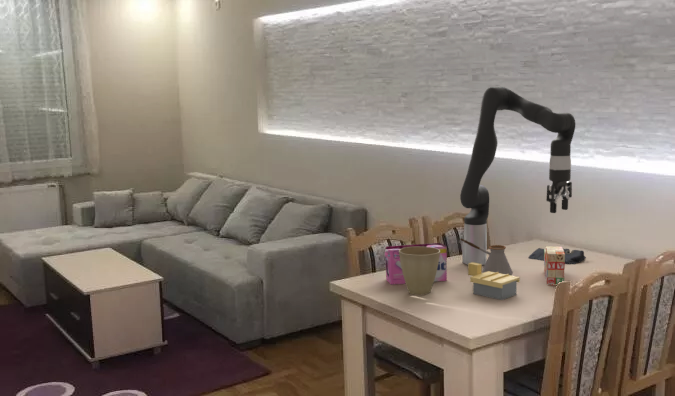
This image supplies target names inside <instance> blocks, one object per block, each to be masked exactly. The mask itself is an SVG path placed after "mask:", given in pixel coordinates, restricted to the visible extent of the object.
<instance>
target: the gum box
mask: <svg viewBox="0 0 675 396" xmlns="http://www.w3.org/2000/svg"><path fill="white" fill-rule="evenodd" d="M417 246H420V247H432V248H437V249H439V250H440V257H439V263H438V268H437V272H436V276H435V280H434V282H443V281H444V282H445V281H448V280H447V279H448V277H447V276H448V273H447V271H448V269H447V268H448V266H447V259H448V257H447V254H448V253H447V252H448V251H447V245H445V244H443V243H441V242H433V243H432V242H431V243H418V244H404V245H389V246H388V245H387V246H385V249H384V258H385V276H386V277H385V280H386V281H387V282H388V283H389V284H390V285H391V286H392V285H403V284H405V283H406V282H405V279H404V276H403V272H402V267H401V262H400V256H399V250H400V249H402V248H405V247H417ZM405 285H406V284H405Z"/></svg>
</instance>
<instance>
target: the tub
mask: <svg viewBox="0 0 675 396" xmlns="http://www.w3.org/2000/svg"><path fill="white" fill-rule="evenodd" d="M517 283H518V282H517V280H516V281H513V282H511V283H508V284H505V285H503V288H497V287H492V286H488V285H483V284H478V283H473V282H472V284H473V286H472V287H473V288H472V289H473V290H472V293H473V295H477V296H483V297H487V298H491V299H495V300H501V301H503V300H506V299H508V298H510V297H511V298H512V297H513V296H516V295H517V288H518V287H517Z"/></svg>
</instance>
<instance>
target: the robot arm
mask: <svg viewBox="0 0 675 396" xmlns="http://www.w3.org/2000/svg"><path fill="white" fill-rule="evenodd" d="M485 89H486V90H484V92H483V94H482V99H481V102H480V103H481V104H480V109H479V110H480V111H479V112H480V114H479V119H478V124H477V129H476V134H475V139H474V143H473V147H472V151H471V157H470V161H469V165H468V170H467V171H466V176H465V179H464V180H463V181H464V182H463V184H462V187H461V190H460V194H459V195H460V196H459V197H460V198H459V199H460V203H461V206H462V207H464V208H465V209H470V211H469V212H468V213H467V214H466V215H465V216H464V217H463V218H464V219H463V223H464V230H463V232H464V233H463V234H464V237H463V239H464V240H467V241H468V242H471V243H473V244H475V245H476V246H478V247H480V248H481V249H483V250H486V251H488V250H487V249H488V248H487V242H488V241H487V233H488V231H487V226H488V224H487V220H488V218H489V215H490V211H489V210H490V193H489V190H488V188H487V187H486V186H485V185H483V184H481V181H482V179H483V177H484V175H485V173H486V172H487V171H488V169H489V168H490V167H491V165H492V163H493V162H494V159H495V157H496V153H497V148H498V137H497V134H496V129H495V120H496V115H497V112H498V111H512V112H515V113H518V114H519V115H521V116H522V117H523V118H524V119H526V120H528V121H529V122H531V123H533V124H537V125H539V126H541V127H542V128H544V129H545V130H547V131H548V132H551V133H555V134H557V135H556V138H555V139H553V140H551V142H550V152H549V153H550V154H549V155H550V156H549V168H548V172H549V173H548V180H549V181H551V182H552V183H551V184H548V185H547V186H546V199H545V200H546V202H549V213H551V214H556V213H557V207H558V205H557V203H558V202H557V201H558V199H559V198H561V210H565V211H566V210H567V211H568V209H569V200H570V198H572V195H573V194H572V193H573V188H572V187H573V183H572V181H571V176H572V175H571V173H572V172H571V171H572V170H571V169H572V158H571V144H572V141H573V139H574V136H575V135H574V133H575V130H576V120H575V119H576V118H575V117H574V115H573V114H571V113H570V112H561V113H560V112H559V113H558V112H553V110H552V109H551V108H549V107H548V106H544V105H542V104H540V103H537V102H534V101H531V100H529V99H527V98H524V97H523V96H521V95H519V94H517V92H514V91H513V90H512V89H509V88H508V87H505V86H495V87H494V86H491V87H488V88H485ZM461 242H462V247H461V248H462V263H463V264H465V265H467V266H468V263H472V262H474V263H479V264H482V266H485V264H486V261H487V259H488V258H487V255H488V254H486V253H485V252H483V251H481V250H479V249H476V248H474V247H472V246H470V245H468V244H467V243H464V241H461Z"/></svg>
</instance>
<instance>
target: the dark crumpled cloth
mask: <svg viewBox="0 0 675 396" xmlns="http://www.w3.org/2000/svg"><path fill="white" fill-rule="evenodd" d="M544 249H545V248H542V247H539V248H536V249H535V250H534V251H533V252H532V253H530V254H529V256H528V259H529V260H535V261H542V262H544ZM563 250H564V253H565V265H568V266H569V265H576V264H579V263H582V262H584V261H585V260H586V258H587V257H586V256H585V252H584V250H579V249H572V250H571V251H570V249H569V248H563Z"/></svg>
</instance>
